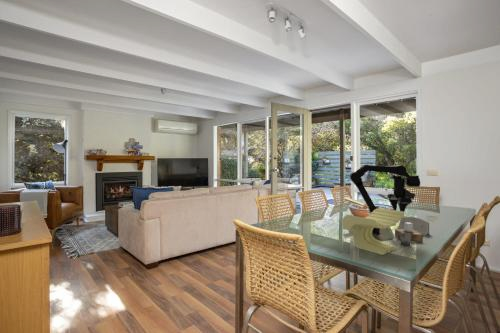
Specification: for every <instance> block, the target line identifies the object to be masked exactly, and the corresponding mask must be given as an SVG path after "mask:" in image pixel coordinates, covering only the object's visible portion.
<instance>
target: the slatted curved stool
mask: <svg viewBox="0 0 500 333" xmlns="http://www.w3.org/2000/svg"><path fill="white" fill-rule="evenodd" d="M403 217H405V211H404V212H403V211H400V210H397V209H396V210H393V209H388V208H383V207H379V208H377V209H375V210H374V211H373V212H371V213H369V214H368V215H367V216H365V217H361V216H356V215H351V214H346V215H344V216H343V218H342V230H346V231H352V235H353V237H352V238H353V244H354V246H355V247H357V249H361V250H365V251H367V252H371V253H374V254H379V255H382V256H383V255H386V254H388V253H391V252H393V251H395V250H396V246H395V245H394V244H389V243H386V242H382V241H380V240H378V239H377V238H375V237H374V235H373V234H372V231H373V229H374V228H380V229H381V230H384V229H387V228H388V229H389V228H391V227H394V226H397V224H399V223H400V220H402V218H403Z"/></svg>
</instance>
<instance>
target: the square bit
mask: <svg viewBox="0 0 500 333" xmlns="http://www.w3.org/2000/svg"><path fill="white" fill-rule="evenodd" d="M404 232H406V233H413V224H412V223H410V222H404Z"/></svg>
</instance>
